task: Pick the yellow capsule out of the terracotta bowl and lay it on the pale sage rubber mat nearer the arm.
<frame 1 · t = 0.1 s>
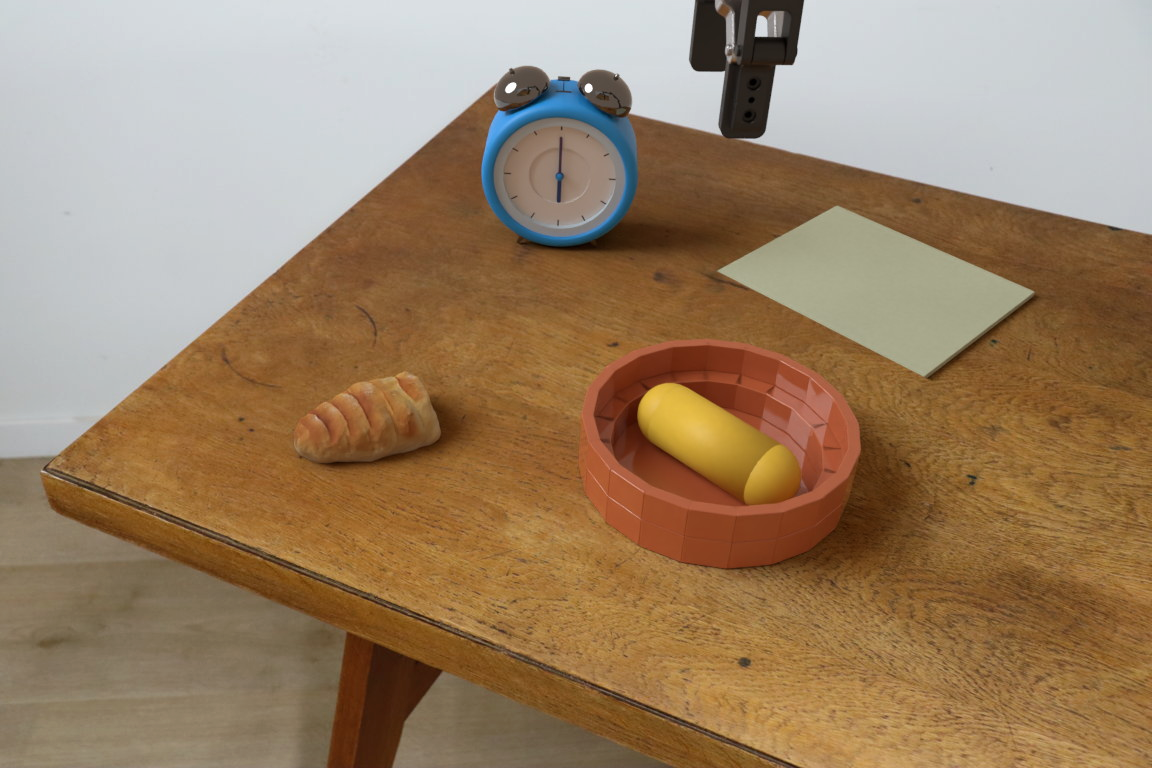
hand: (723, 100, 57), 26 cm above the table, tool pointing down, fingers open, 8 cm apart
alarm clock: (557, 234, 99), on the table
pastry: (376, 440, 75), on the table
bowl: (711, 476, 74), on the table
mat: (867, 290, 93), on the table
yellow capsule: (712, 469, 73), point 1 cm above the table, touching bowl
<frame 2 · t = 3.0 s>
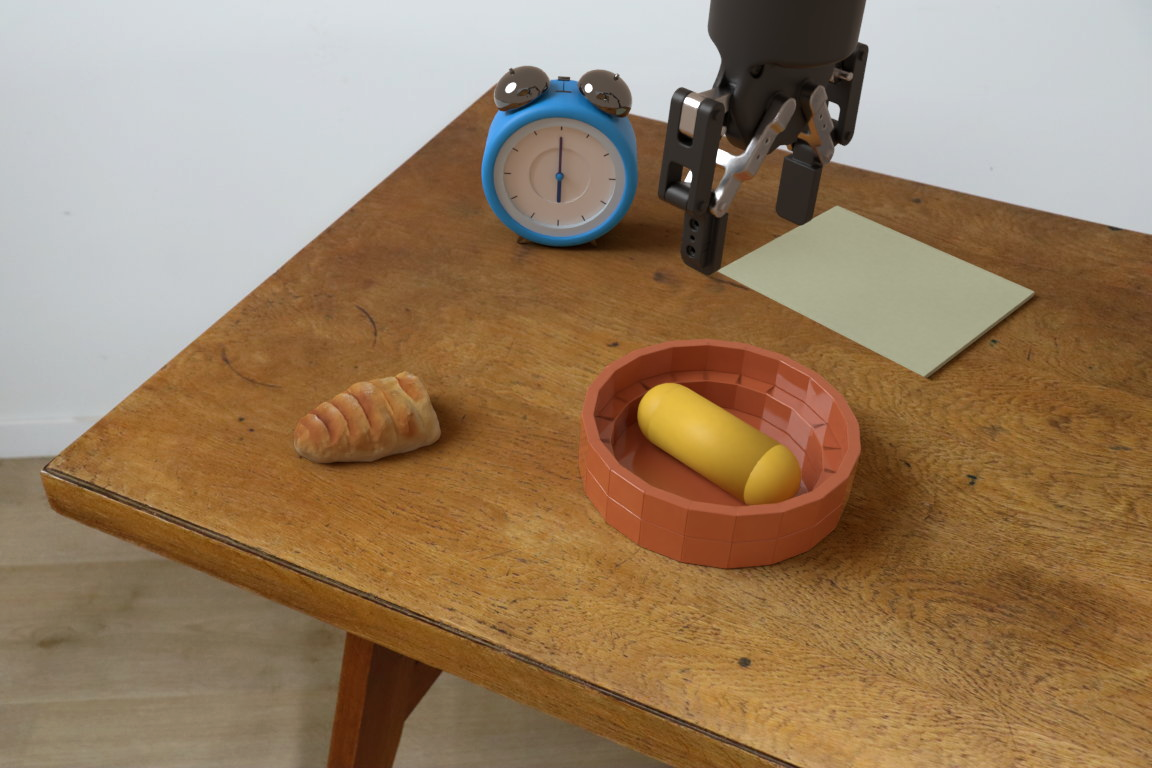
hand: (748, 242, 63), 18 cm above the table, tool pointing down, fingers open, 8 cm apart
nothing on the table moved.
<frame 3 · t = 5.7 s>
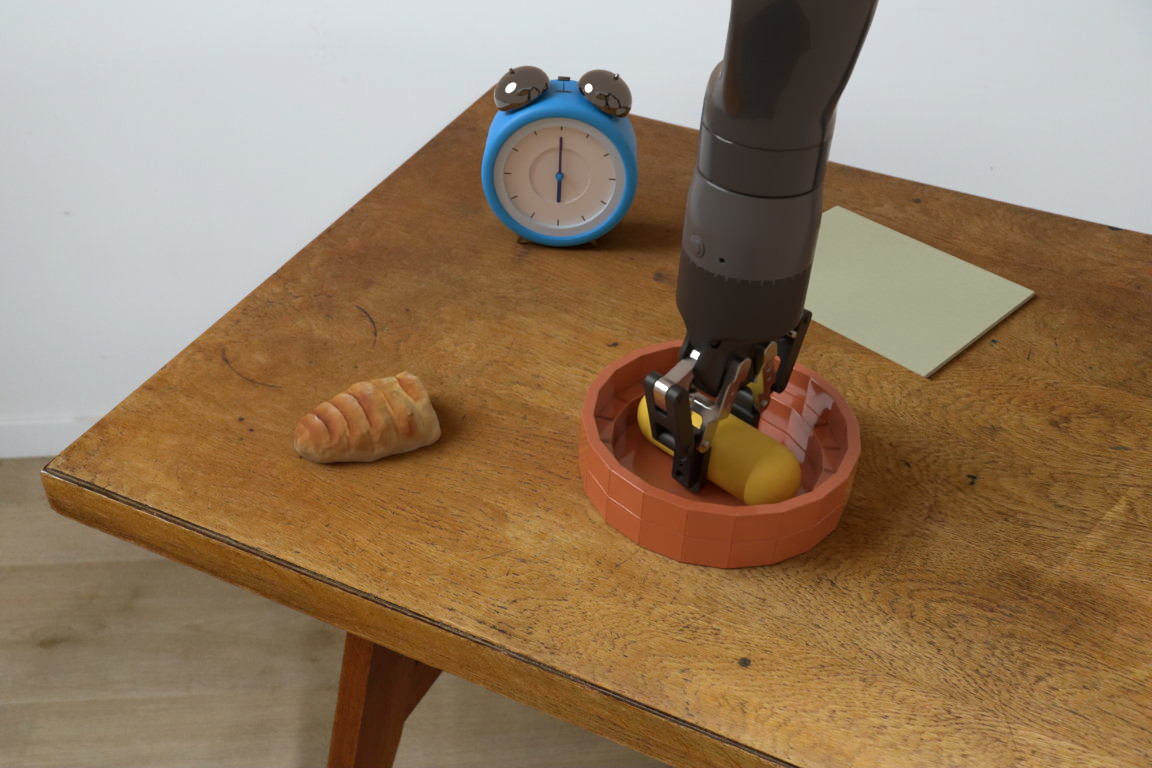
hand: (713, 466, 73), 1 cm above the table, tool pointing down, fingers closed on yellow capsule, 4 cm apart
yellow capsule: (712, 469, 73), point 1 cm above the table, touching bowl, gripper
everything else where it was.
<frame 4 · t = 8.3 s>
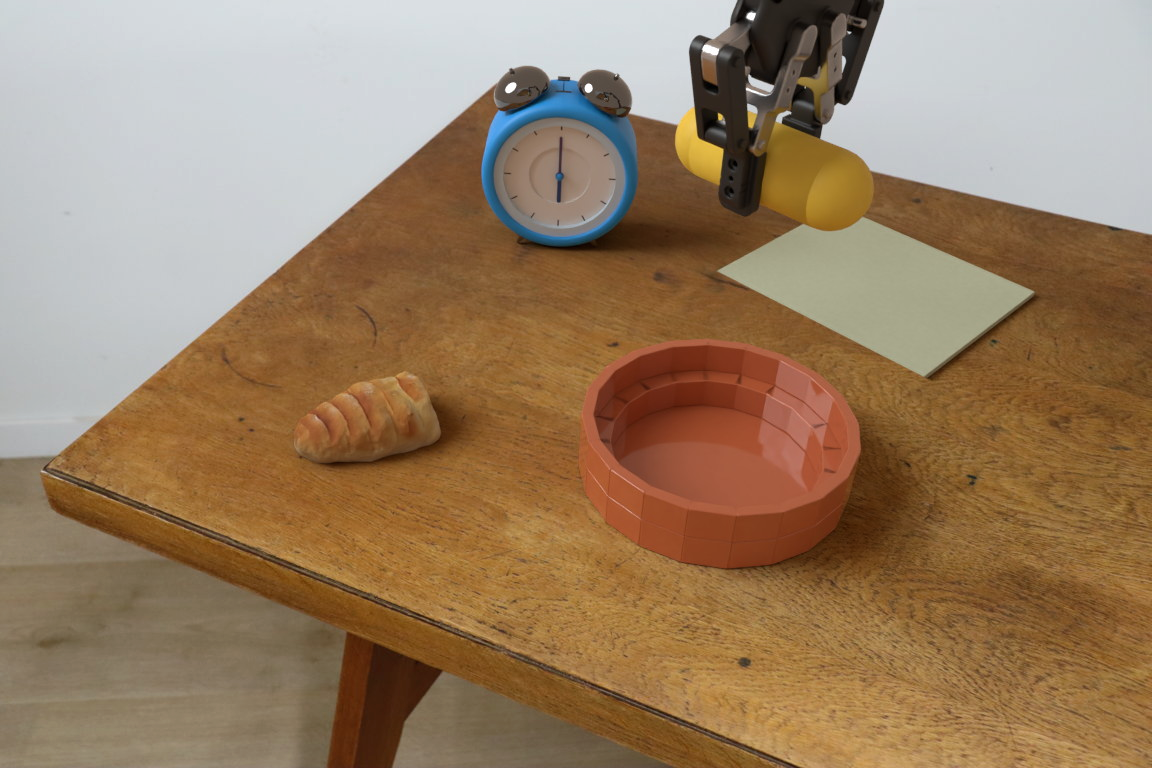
hand: (766, 194, 62), 20 cm above the table, tool pointing down, fingers closed on yellow capsule, 4 cm apart
yellow capsule: (764, 199, 62), point 20 cm above the table, touching gripper
everything else where it was.
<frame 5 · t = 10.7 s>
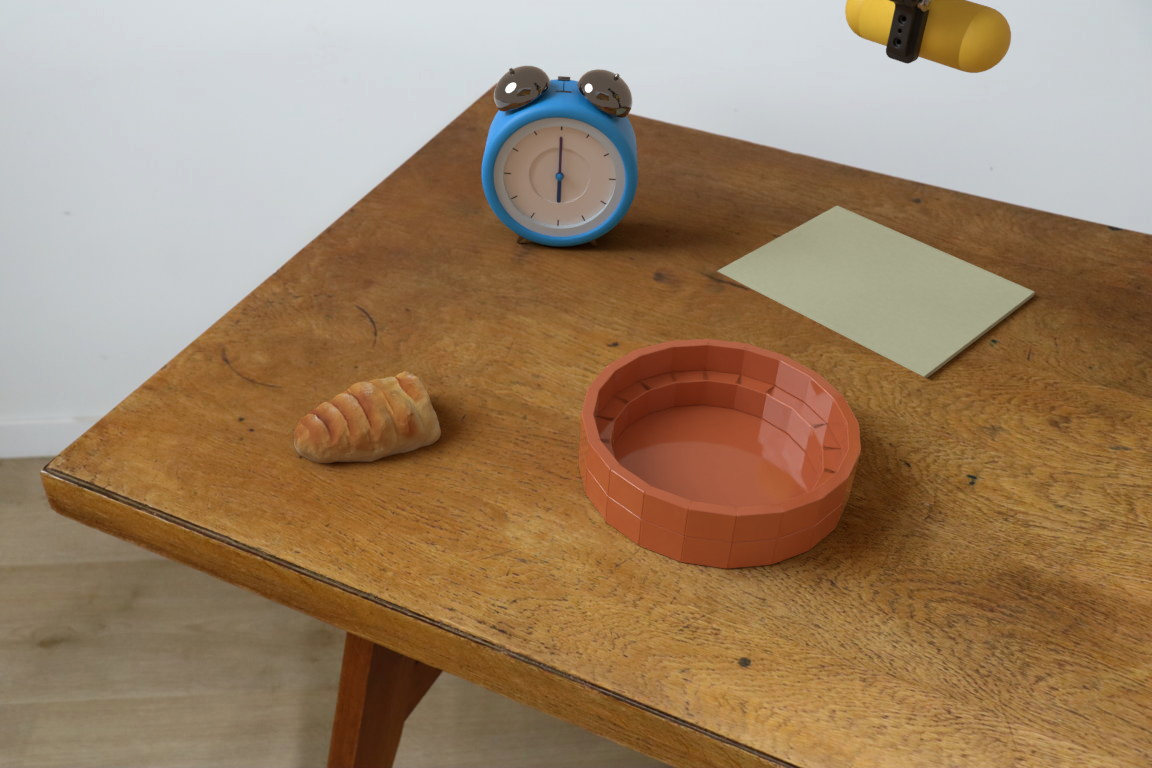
hand: (919, 50, 79), 21 cm above the table, tool pointing down, fingers closed on yellow capsule, 4 cm apart
yellow capsule: (917, 54, 79), point 21 cm above the table, touching gripper
everything else where it was.
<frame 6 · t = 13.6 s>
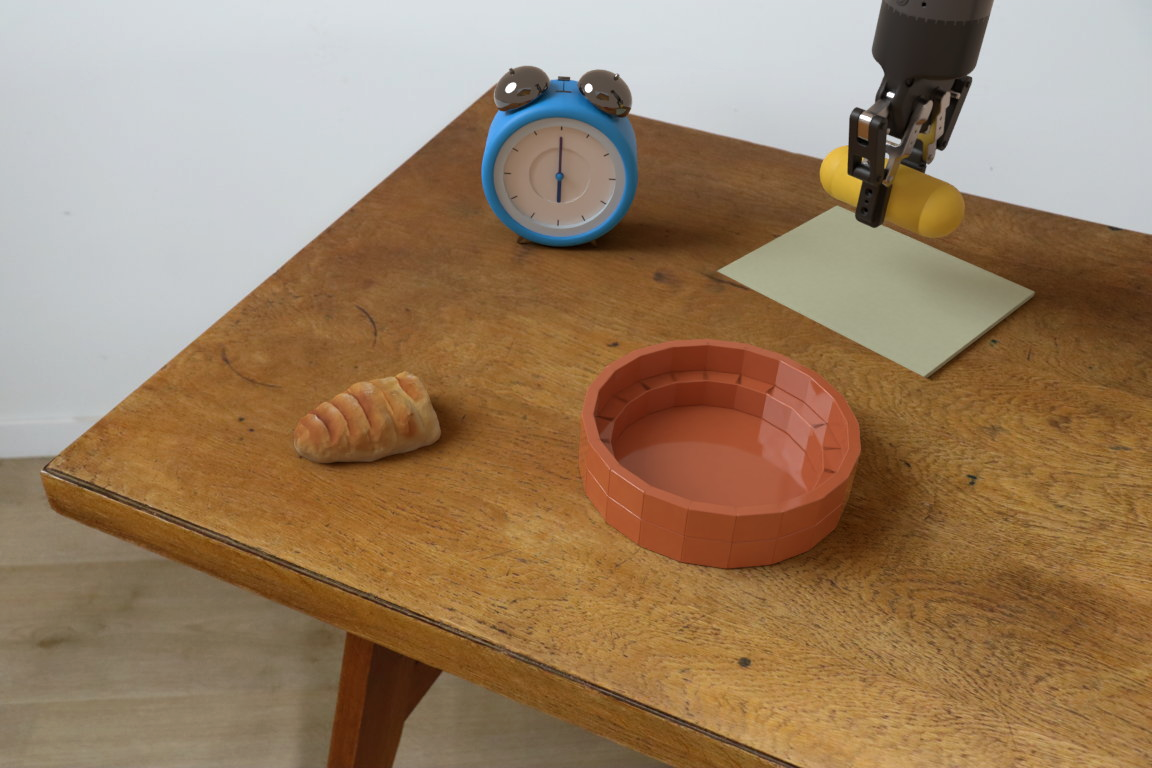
hand: (885, 212, 89), 7 cm above the table, tool pointing down, fingers closed on yellow capsule, 4 cm apart
yellow capsule: (884, 215, 89), point 7 cm above the table, touching gripper
everything else where it was.
when the fingers open (1 cm above the table, at t = 15.6 s): yellow capsule stays where it is, resting on mat.
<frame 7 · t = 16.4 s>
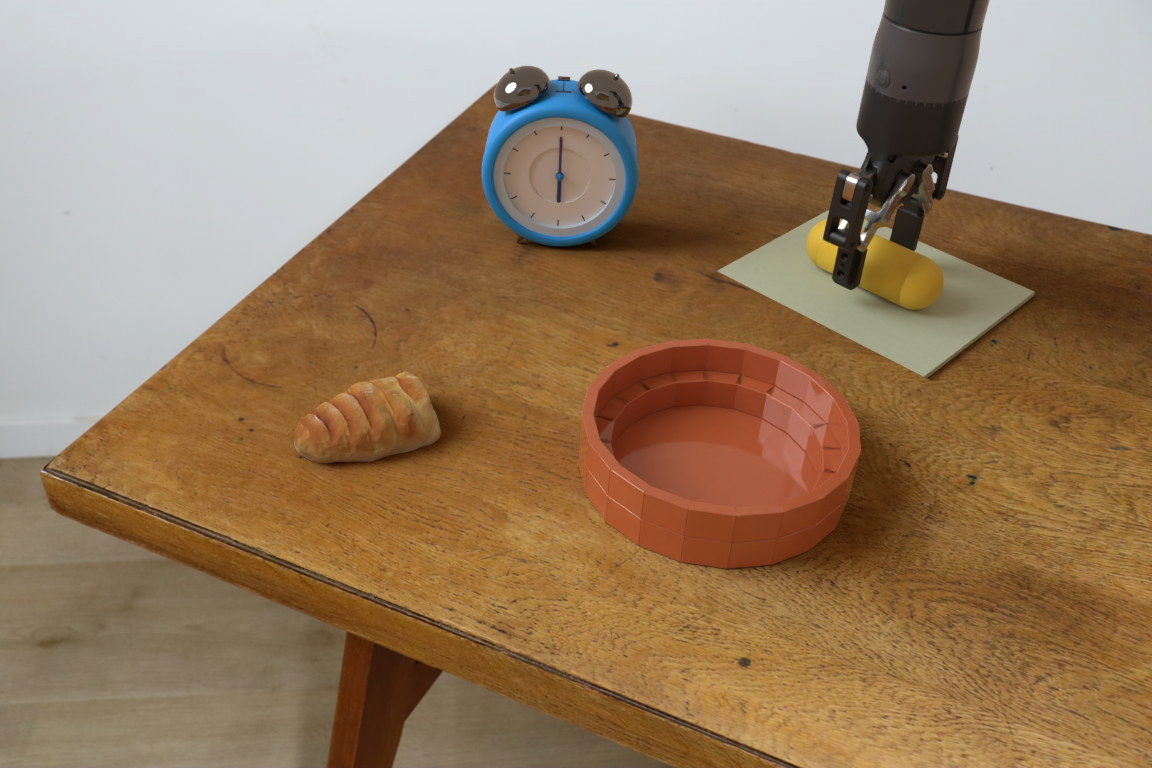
hand: (874, 266, 92), 2 cm above the table, tool pointing down, fingers open, 8 cm apart
yellow capsule: (867, 285, 93), resting on mat
everything else where it was.
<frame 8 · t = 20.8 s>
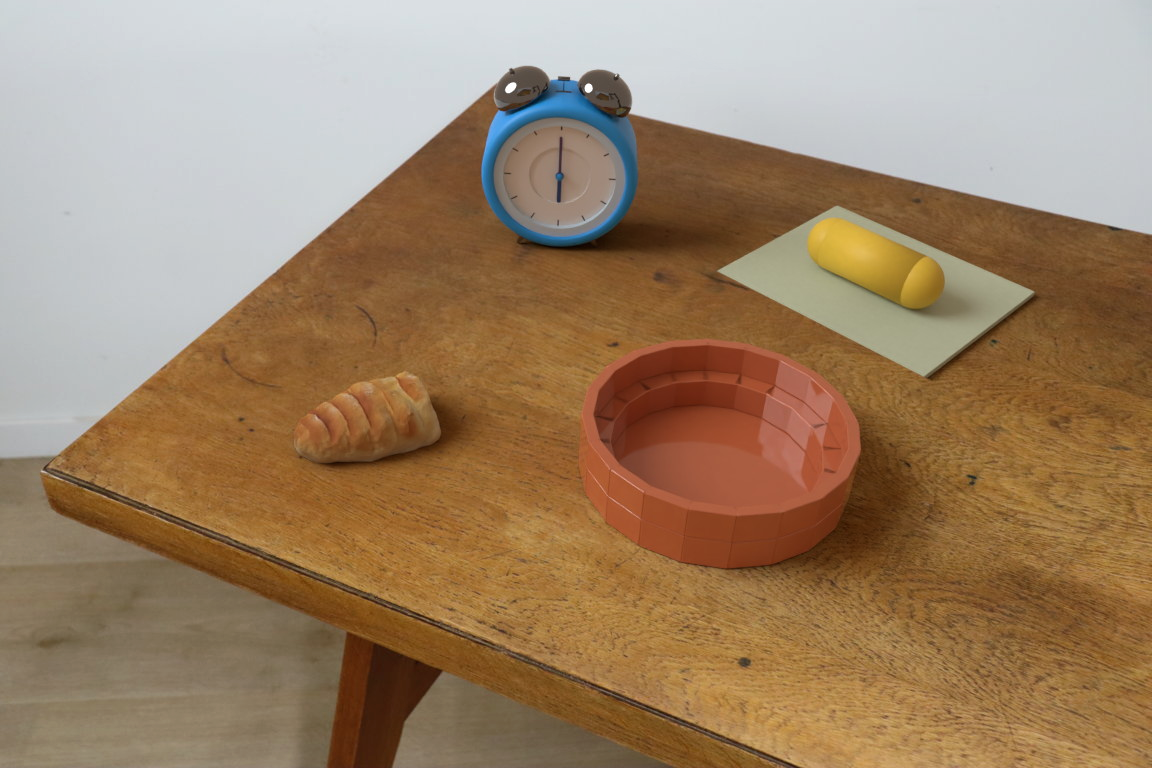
nothing on the table moved.
at the end: yellow capsule inside the target area on the mat (0.1 cm from its centre), point 0.5 cm above the mat's base; the gripper is holding nothing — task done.
